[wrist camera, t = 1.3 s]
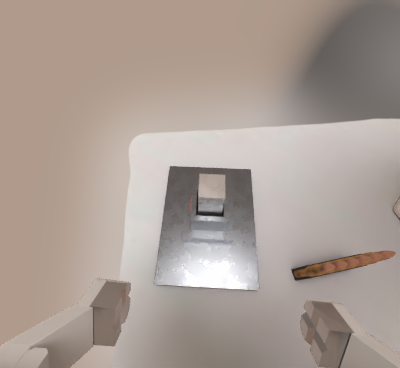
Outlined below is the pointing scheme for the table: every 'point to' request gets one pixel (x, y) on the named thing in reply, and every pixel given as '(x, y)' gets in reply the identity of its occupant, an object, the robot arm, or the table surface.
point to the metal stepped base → (208, 234)
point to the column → (211, 194)
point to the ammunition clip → (340, 264)
